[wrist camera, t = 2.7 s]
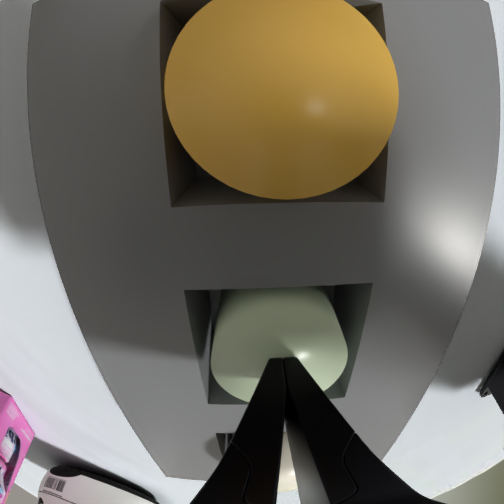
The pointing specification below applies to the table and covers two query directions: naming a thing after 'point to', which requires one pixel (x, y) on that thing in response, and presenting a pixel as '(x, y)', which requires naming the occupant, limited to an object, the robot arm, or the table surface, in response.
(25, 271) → the table surface
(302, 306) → the sage button
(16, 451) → the gum box
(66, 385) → the table surface
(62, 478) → the milk container
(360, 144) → the amber button
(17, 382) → the table surface
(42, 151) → the button panel
